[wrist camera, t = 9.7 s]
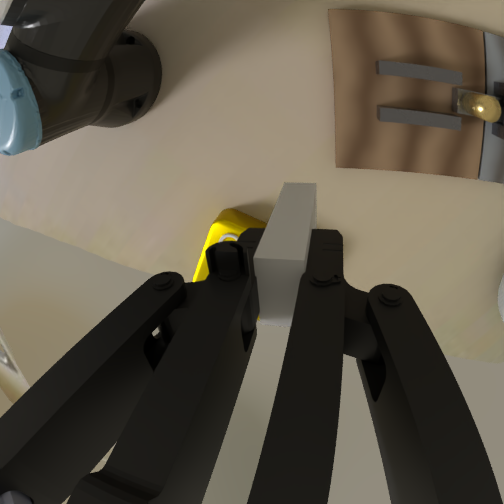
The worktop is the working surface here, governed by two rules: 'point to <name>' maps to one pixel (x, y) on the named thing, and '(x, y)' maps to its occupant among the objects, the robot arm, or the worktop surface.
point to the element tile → (225, 235)
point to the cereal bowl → (501, 298)
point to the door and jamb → (412, 94)
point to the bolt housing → (425, 115)
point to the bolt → (478, 105)
